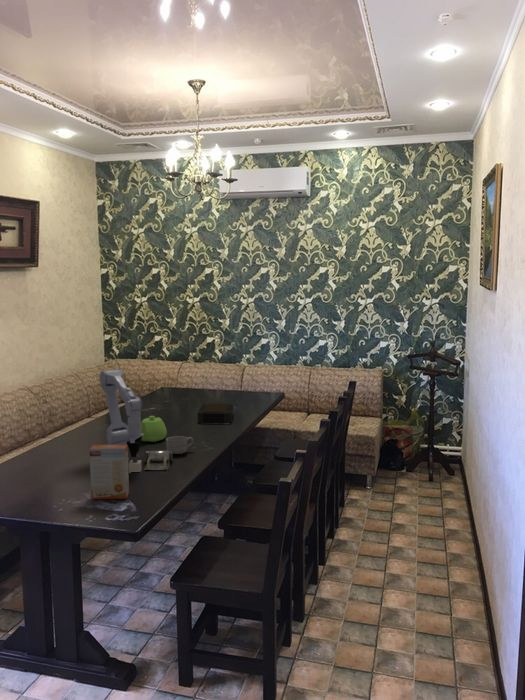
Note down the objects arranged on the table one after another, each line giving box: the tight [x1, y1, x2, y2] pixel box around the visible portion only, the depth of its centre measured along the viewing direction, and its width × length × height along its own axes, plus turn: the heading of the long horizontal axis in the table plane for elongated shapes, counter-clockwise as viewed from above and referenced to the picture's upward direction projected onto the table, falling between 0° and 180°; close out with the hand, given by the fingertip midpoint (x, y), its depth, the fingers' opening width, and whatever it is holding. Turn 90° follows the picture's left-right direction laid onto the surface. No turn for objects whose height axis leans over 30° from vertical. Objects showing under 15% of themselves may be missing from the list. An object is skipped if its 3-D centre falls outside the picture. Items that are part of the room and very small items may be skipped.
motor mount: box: [144, 450, 174, 470], centre depth 272 cm, size 13×15×6 cm
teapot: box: [141, 415, 168, 443], centre depth 313 cm, size 22×15×13 cm
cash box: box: [197, 403, 234, 424], centre depth 361 cm, size 25×20×8 cm
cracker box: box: [89, 444, 130, 500], centre depth 232 cm, size 14×6×21 cm, turn 92°
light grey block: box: [128, 458, 143, 474], centre depth 264 cm, size 5×5×6 cm
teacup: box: [165, 435, 194, 455], centre depth 291 cm, size 14×11×8 cm
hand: (135, 454), depth 263 cm, fingers open, 7 cm apart
